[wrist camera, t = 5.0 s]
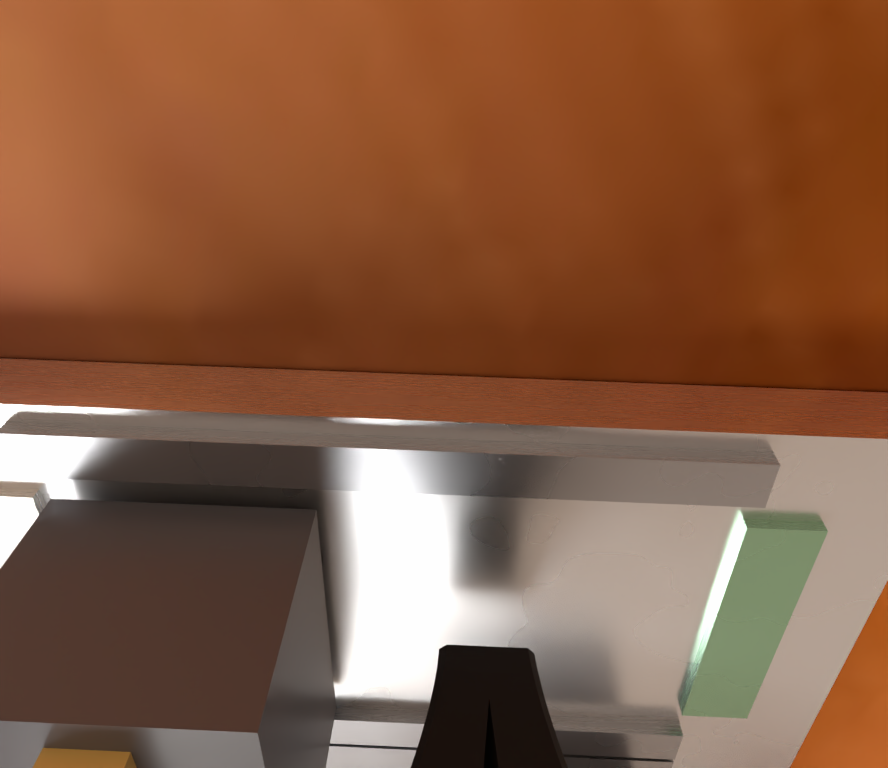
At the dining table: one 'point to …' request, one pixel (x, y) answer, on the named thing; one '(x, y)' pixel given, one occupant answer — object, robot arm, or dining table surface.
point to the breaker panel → (514, 533)
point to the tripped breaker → (165, 639)
